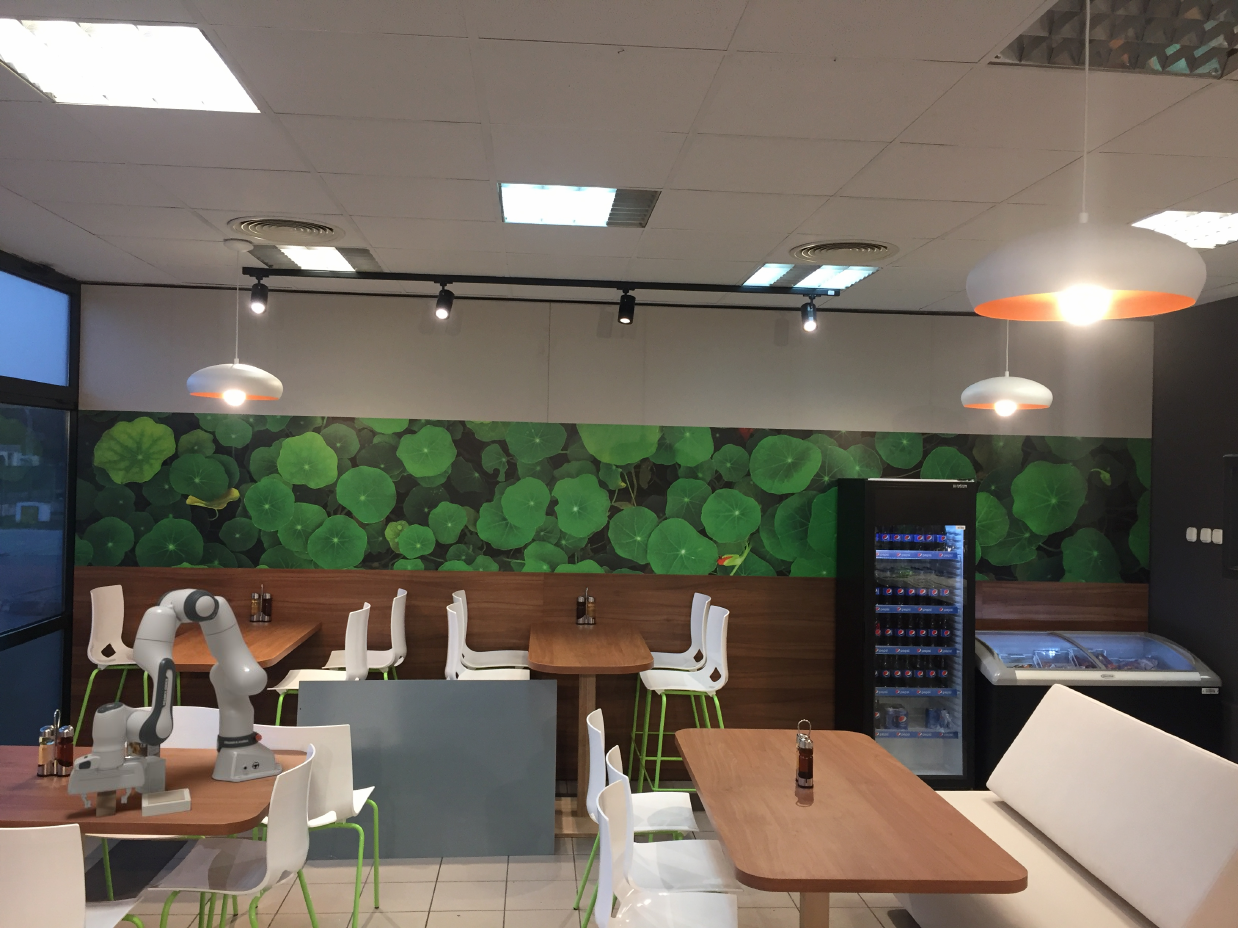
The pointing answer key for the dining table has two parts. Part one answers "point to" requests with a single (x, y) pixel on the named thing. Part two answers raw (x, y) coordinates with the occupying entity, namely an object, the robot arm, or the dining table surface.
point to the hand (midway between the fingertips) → (106, 804)
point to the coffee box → (141, 749)
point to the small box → (153, 776)
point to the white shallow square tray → (165, 802)
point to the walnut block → (106, 803)
